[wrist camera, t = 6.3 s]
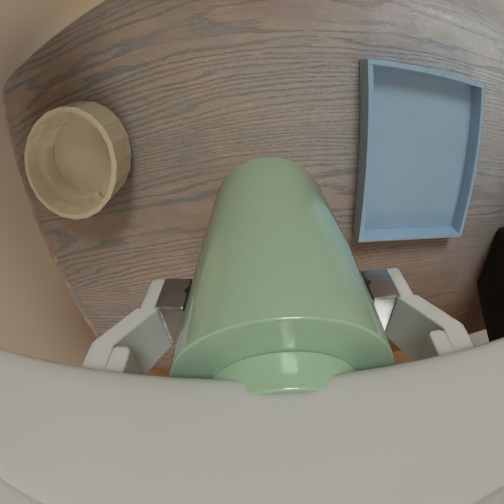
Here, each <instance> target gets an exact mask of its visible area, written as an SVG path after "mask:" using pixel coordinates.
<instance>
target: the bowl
mask: <svg viewBox="0 0 504 504" xmlns="http://www.w3.org/2000/svg"><path fill="white" fill-rule="evenodd" d="M131 154H132V153H131V147H130V142H129V137H128V134H127V132H126V130H125V128H124V126H123V124H122V122H121V120H120V119H119V118H118V117H117V116H116V115H115V114H114V113H113V112H112V111H111V110H110V109H109V108H107V107H105V106H103V105H100V104H98V103H96V102H91V101H78V102H74V103H71V104H67V105H64V106H60V107H58V108H55V109H53V110H50V111H48V112H46V113H45V114H44V115H43V116H42V117H40V118H39V119H38V120H37V121H36V122H35V124H34V125H33V127H32V129H31V131H30V133H29V135H28V137H27V142H26V146H25V151H24V160H25V171H26V174H27V178H28V181H29V184H30V186H31V188H32V190H33V191H34V193H35V195H36V197H37V198H38V199H39V200H40V201H41V202H42V204H43V205H44V206H45V207H46V208H47V209H49V210H50V211H52V212H54V213H55V214H57V215H59V216H61V217H65V218H69V219H75V220H76V219H83V218H89V217H90V216H92V215H94V214H96V213H97V212H99V211H101V210H102V209H103V207H104V206H105V205H106V204H107V203H108V202H109V201H110V200H111V199H112V198H113V197H114V196H115V195H116V194H117V192H118V191H119V190H120V189H121V188H122V187H123V185H124V184H125V181H126V179H127V176H128V174H129V171H130V165H131Z"/></svg>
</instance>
